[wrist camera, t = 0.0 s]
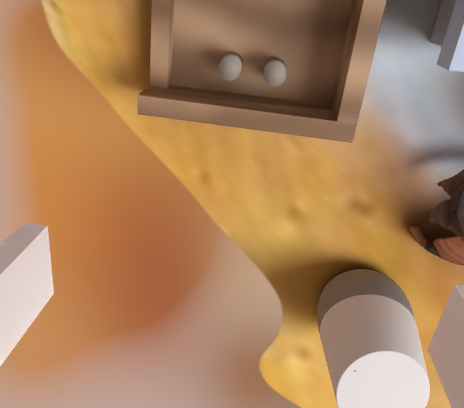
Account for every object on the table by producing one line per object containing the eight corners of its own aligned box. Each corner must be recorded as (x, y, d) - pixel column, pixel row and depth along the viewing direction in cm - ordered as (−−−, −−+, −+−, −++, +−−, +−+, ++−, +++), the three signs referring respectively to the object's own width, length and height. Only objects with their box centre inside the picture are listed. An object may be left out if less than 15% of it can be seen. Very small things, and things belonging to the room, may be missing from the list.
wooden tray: (163, -132, 33) (140, -155, 27) (393, -106, 32) (416, -124, 27) (156, 97, 40) (137, 113, 35) (342, 121, 40) (352, 142, 34)
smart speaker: (421, 296, 47) (473, 408, 35) (355, 342, 51) (380, 458, 38) (361, 243, 45) (392, 341, 33) (296, 294, 49) (302, 401, 36)
